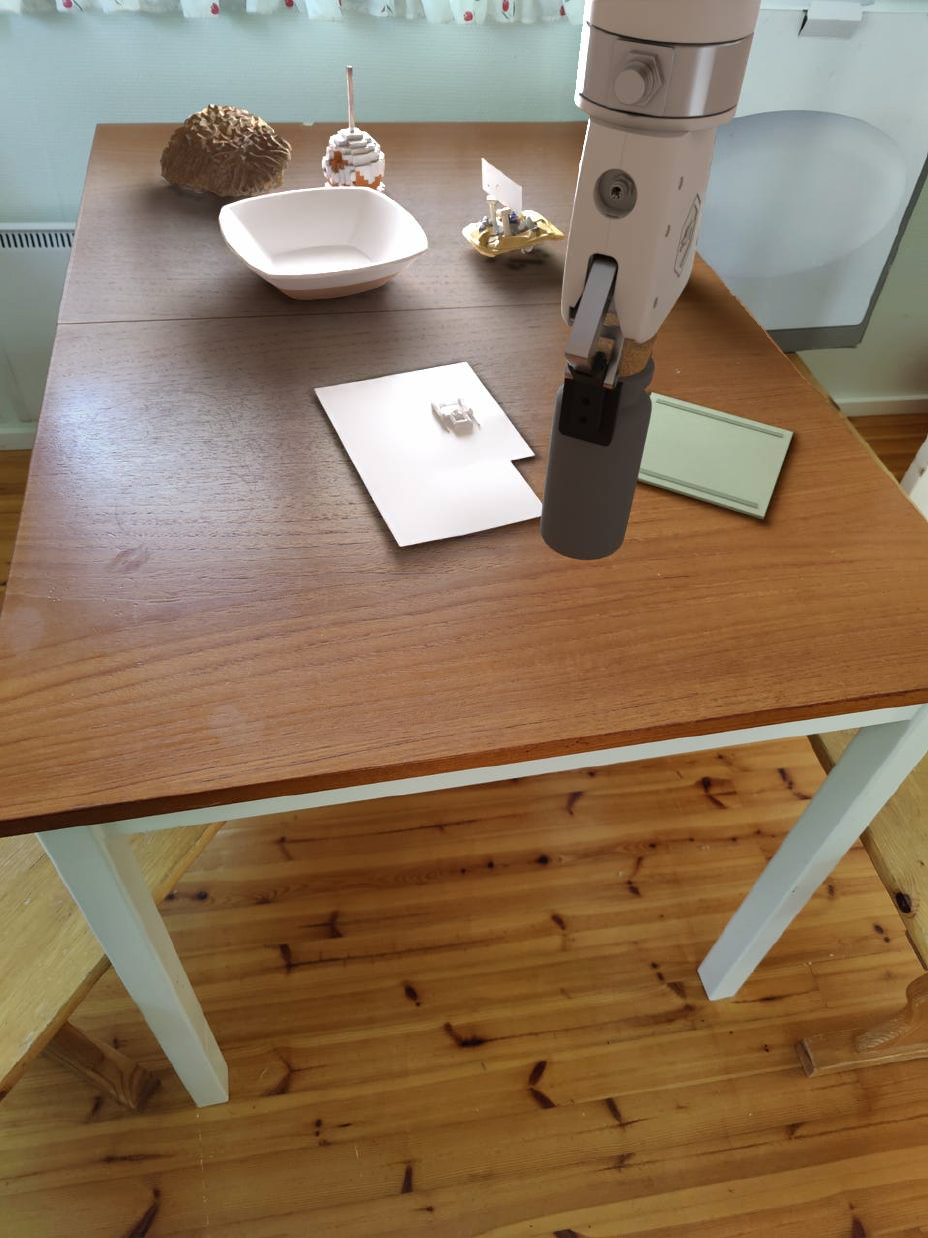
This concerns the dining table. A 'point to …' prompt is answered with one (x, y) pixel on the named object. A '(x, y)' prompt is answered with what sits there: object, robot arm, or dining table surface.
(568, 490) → the bottle
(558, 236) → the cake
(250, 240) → the bowl
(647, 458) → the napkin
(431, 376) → the paper
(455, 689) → the dining table surface
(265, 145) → the coral
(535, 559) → the dining table surface
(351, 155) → the decorative ornament
